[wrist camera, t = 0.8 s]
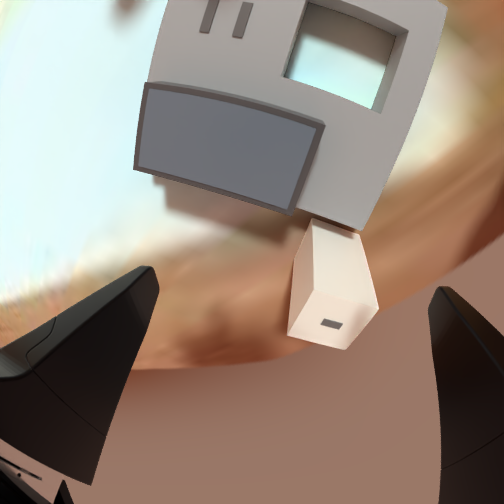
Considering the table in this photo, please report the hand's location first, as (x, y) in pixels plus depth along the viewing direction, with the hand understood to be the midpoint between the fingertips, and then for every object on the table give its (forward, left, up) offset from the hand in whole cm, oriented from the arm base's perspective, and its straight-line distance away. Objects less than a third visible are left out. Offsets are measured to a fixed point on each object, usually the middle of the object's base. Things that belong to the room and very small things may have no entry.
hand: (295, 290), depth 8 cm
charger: (-4, +6, -13) cm, 14 cm away
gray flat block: (+5, -1, -10) cm, 11 cm away
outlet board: (+3, -6, -13) cm, 14 cm away
